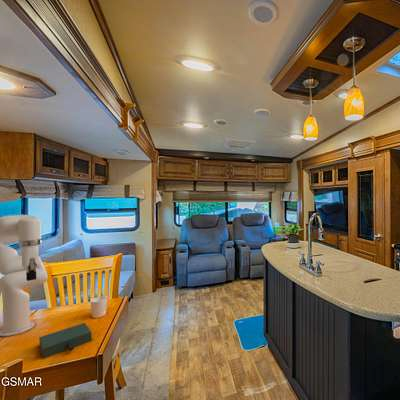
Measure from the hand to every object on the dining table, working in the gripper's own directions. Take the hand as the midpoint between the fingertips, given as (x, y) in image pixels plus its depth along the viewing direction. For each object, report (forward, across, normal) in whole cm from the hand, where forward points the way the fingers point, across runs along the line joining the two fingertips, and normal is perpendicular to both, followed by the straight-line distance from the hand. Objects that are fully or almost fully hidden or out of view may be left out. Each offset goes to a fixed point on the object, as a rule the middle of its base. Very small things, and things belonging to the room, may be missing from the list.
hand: (31, 279), depth 121 cm
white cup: (+32, -8, +28) cm, 43 cm away
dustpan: (+30, +6, +10) cm, 32 cm away
